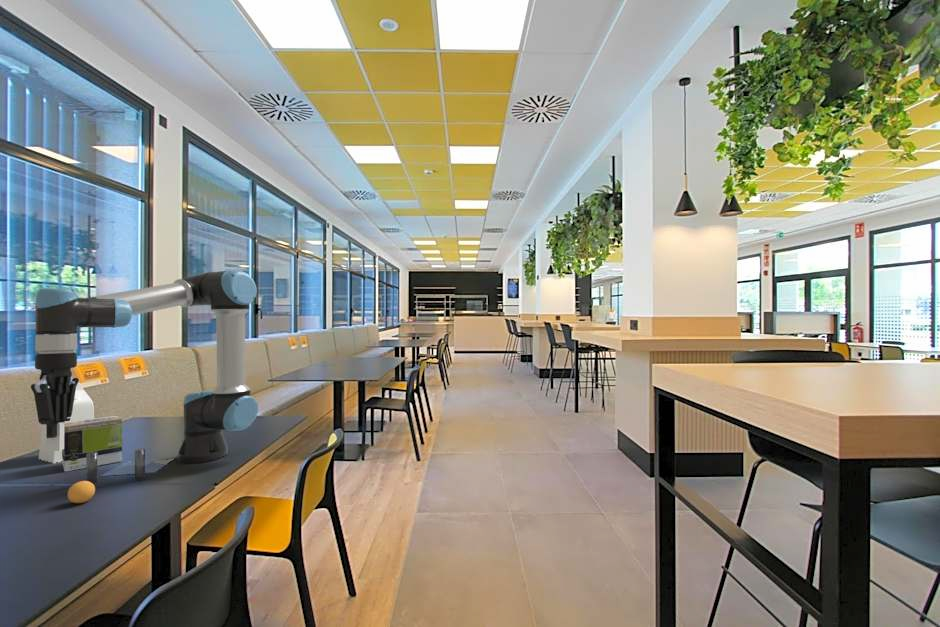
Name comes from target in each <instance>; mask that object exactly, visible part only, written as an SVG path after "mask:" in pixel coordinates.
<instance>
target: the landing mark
mask: <svg viewBox="0 0 940 627" xmlns="http://www.w3.org/2000/svg"><path fill="white" fill-rule="evenodd" d="M132 461H133V460H128V463H130V464H128V463H125V462H123V463H124V464H123V463H121V464H119V465H118V466H116V467H114V468H112V469H110V470H108V471H107V472H105V473H103V474H102V475H100V476H101V477H112V476H113V475H116V476H128V475H127V474H130V475H135V466H134V464H132V463H131V462H132ZM154 462H155V461H153V462H150V463H149V464H147V465H146V466H145V474H156V472H158V471H160V470H161V469H163V468H165V467H166V466H167V465H168V464H160V463H154ZM165 465H166V466H165ZM162 467H163V468H162ZM159 469H160V470H159ZM113 477H114V476H113Z"/></svg>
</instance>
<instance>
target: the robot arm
mask: <svg viewBox="0 0 940 627" xmlns="http://www.w3.org/2000/svg"><path fill="white" fill-rule="evenodd" d="M257 294H258V292H257V284H256V282H255V280H254V278H252V277H251V276H250V275H249V274H248V273H247V272H244V271H241V270H233V269H232V270H229V269H227V270H221V271H210V272H204V273H200V274H195V275H193V276H188V277H185V278H179V279H178V278H177V279H176V280H175V281H173V282H172V283H167V284H160V285H155V286H150V287H149V286H148V287H143V288H139V289H138V288H137V289H131V290H126V291H121V292H113V293H106V294H101V295H97V296H91V297H85V298H84V297H79V296H80V295H79V293H78V290H76V289H73V288H71V289H70V288H59V287H58V288H57V287H56V288H54V287H53V288H52V287H48V288H46V287H45V288H41V289H39V290H37V292H36V296H35V306H34V309H35V339H34V343H35V350H34V351H35V352H38V353H36V354H35V355H34V368H35V369H36V370H40V374H39V379H38V380H39V381H38V382H37V383H32V384H30V388H31V391H32V393H33V396H34V401H35V407H36V415H37V420H38V423H39V424H40V425H42V424H46V426H47V431H46V433H47V434H46V436H47V447H46V451H60V450H63V449H64V422H65V421H70V418H68V417H71V416H72V410H73V403H74V397H75V391H76V386H77V384H78V382H79V381H80V379H79V378H78V377H73V373H72V369H73V368H76V367H77V366H78V353H76V352H75V351H77V350H78V328H113V329H115V328H123V327H126V326H128V325H129V324H130V322H131V321H132V319H133V316H137V315H141V314H146V313H150V312H155V311H159V310H165V309H169V308H170V309H171V308H175V307H179V306H180V307H182V308H189V307H194V306H210V311H211V312H212V313H213V314H215V319H216V320H215V321H216V324H215V325H216V331H215V332H216V387H215V388H214V389H210V390H202V391H196V392H191V393H187V394H186V395H185V396H184V398H183V403H182V404H183V406H182V407H183V438H182V441H181V444H180V447H179V450H178V453H177V461H178V462H180V463H185V464H195V463H196V464H197V463H205V462H210V460H211V461H214V460H218V458H219V459H221V458H224V457H225V455H226V454H227V453H228V452H229V451H228V449H229V448H228V444H227V441H226V439H225V437H224V433H223V430H225V431H227V432H228V431H229V432H232V431H233V432H234V431H236V432H237V431H244V430H245V429H247V428H249V427H250V426H251V425H252V423H253V422H255V420H256V418H257V416H258V412H259V404H258V400H256V398H255V397H253V396H252V395H251V388H250V386H248V385H247V384H246V332H245V331H246V330H245V329H246V327H245V325H246V324H245V323H246V322H245V316H246V314H247V313H248V312H249V311H250V304H252V302H254V300H255V299H256V298H257ZM227 455H228V454H227ZM227 455H226V456H227ZM223 456H224V457H223Z"/></svg>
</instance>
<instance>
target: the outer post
mask: <svg viewBox="0 0 940 627" xmlns="http://www.w3.org/2000/svg"><path fill="white" fill-rule="evenodd" d="M98 467H99V465H98V452H96V451H95V452H89V453H87V461H86V468H85V470H86V478H85V479H86V480H85V481H89V482H91V483H92V484H93V485H95V483H96V484H98Z"/></svg>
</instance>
